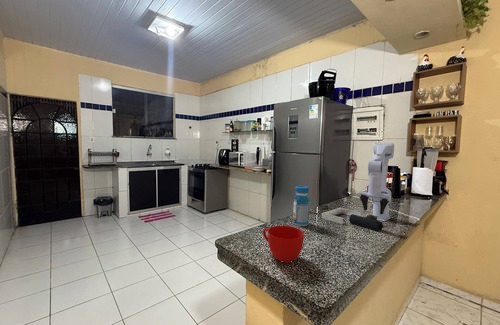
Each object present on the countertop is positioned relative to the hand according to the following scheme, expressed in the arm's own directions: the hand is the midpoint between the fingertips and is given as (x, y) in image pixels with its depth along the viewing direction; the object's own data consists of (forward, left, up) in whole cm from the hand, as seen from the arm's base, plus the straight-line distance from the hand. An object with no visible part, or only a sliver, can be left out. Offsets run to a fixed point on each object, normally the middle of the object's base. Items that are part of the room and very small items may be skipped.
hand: (373, 212), depth 111 cm
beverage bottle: (+22, -27, -9) cm, 36 cm away
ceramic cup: (+57, -9, -9) cm, 59 cm away
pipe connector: (-5, -4, -10) cm, 12 cm away
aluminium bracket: (-6, -20, -9) cm, 23 cm away
